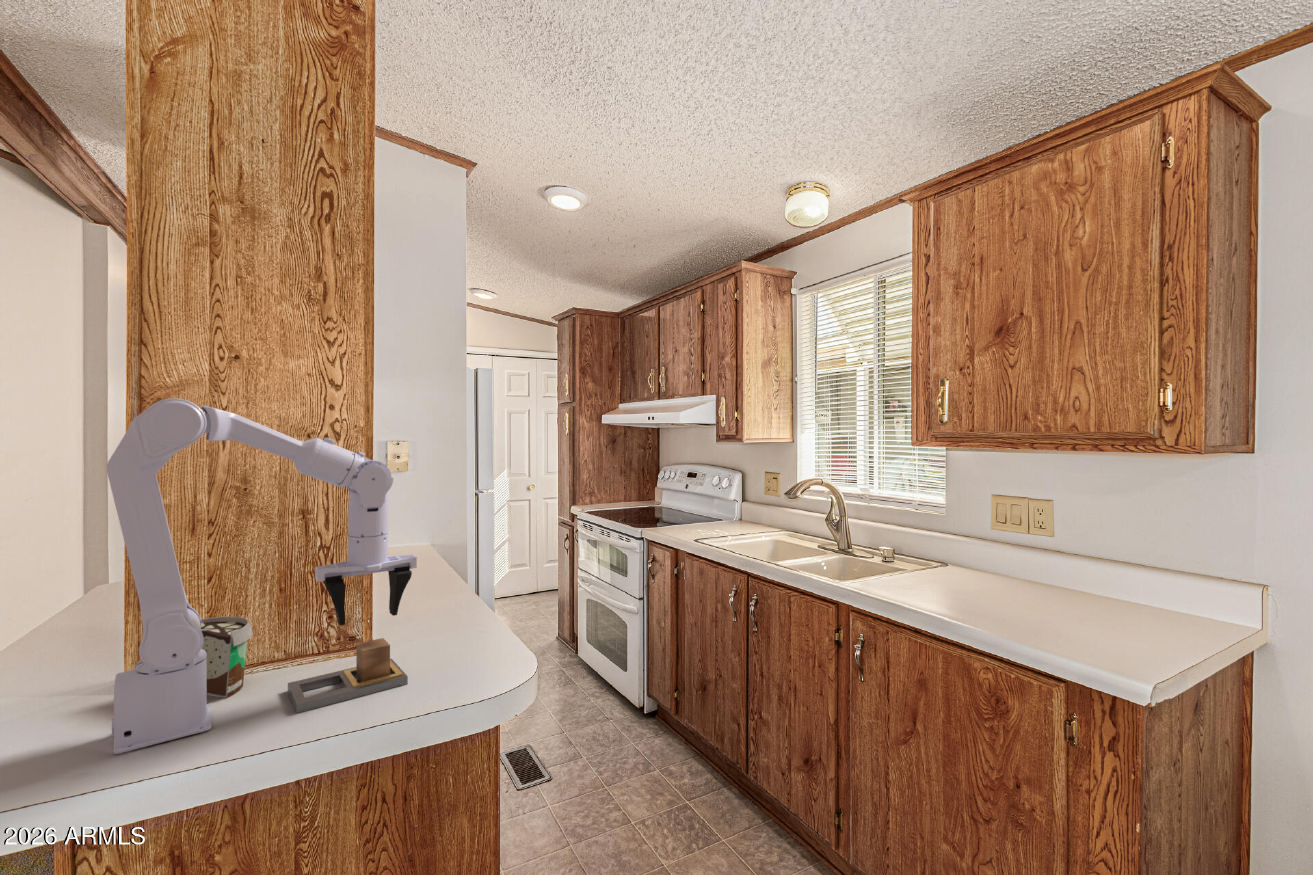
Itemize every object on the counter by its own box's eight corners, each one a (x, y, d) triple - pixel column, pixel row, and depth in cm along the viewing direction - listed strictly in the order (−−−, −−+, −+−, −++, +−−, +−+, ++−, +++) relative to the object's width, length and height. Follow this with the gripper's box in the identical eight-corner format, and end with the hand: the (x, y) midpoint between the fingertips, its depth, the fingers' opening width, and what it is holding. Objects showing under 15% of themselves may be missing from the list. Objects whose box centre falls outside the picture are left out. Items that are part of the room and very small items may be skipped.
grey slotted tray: (296, 713, 81) (296, 703, 81) (287, 690, 88) (287, 681, 88) (407, 683, 91) (407, 674, 91) (391, 665, 97) (391, 657, 97)
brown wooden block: (362, 689, 89) (362, 651, 89) (356, 680, 92) (356, 643, 92) (390, 682, 91) (390, 644, 91) (383, 674, 94) (383, 637, 94)
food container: (272, 682, 91) (272, 619, 91) (234, 699, 85) (234, 632, 85) (213, 672, 94) (213, 612, 94) (173, 688, 88) (173, 624, 88)
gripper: (320, 543, 84) (320, 635, 84) (422, 532, 93) (422, 615, 93) (312, 536, 90) (312, 622, 90) (409, 527, 99) (409, 605, 99)
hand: (368, 618), depth 92 cm, fingers open, 7 cm apart
